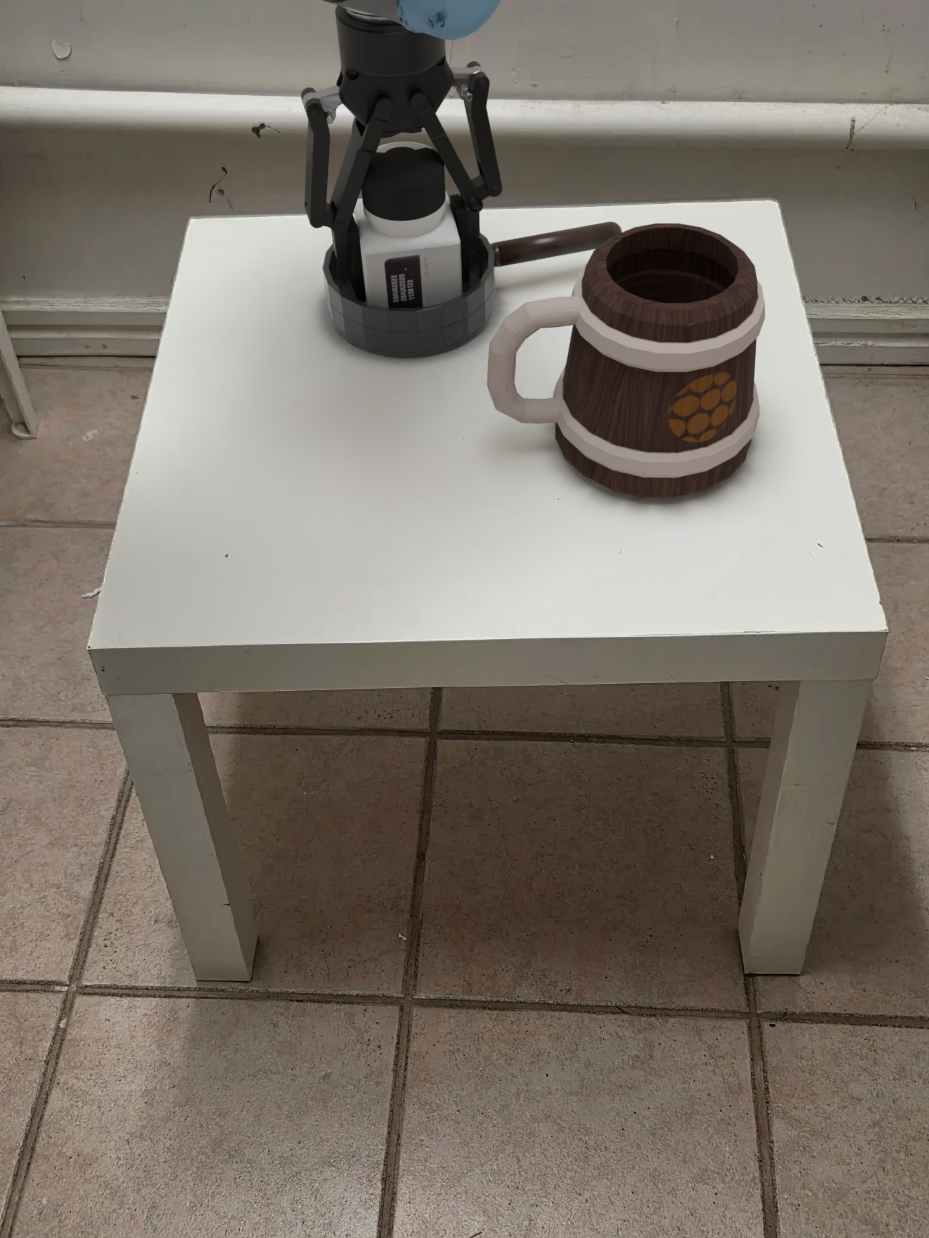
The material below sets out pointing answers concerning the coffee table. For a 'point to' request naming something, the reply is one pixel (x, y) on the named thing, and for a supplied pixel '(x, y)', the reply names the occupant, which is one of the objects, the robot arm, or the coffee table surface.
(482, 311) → the pan
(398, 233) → the container
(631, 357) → the mug
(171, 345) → the coffee table surface
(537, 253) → the pan handle
